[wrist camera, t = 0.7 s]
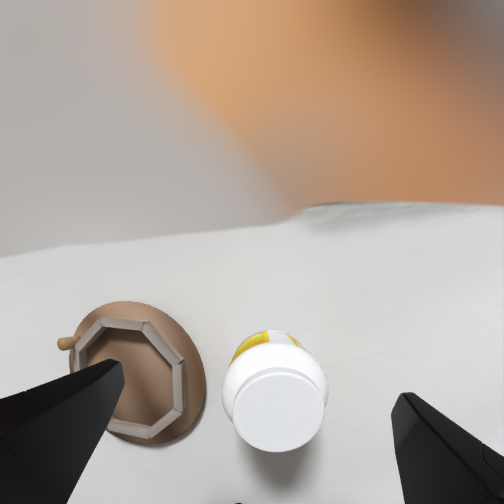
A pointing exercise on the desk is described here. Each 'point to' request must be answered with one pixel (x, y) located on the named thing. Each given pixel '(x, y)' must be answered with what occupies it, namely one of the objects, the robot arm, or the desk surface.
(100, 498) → the desk surface
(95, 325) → the collar plate
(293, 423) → the supplement bottle
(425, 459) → the robot arm
